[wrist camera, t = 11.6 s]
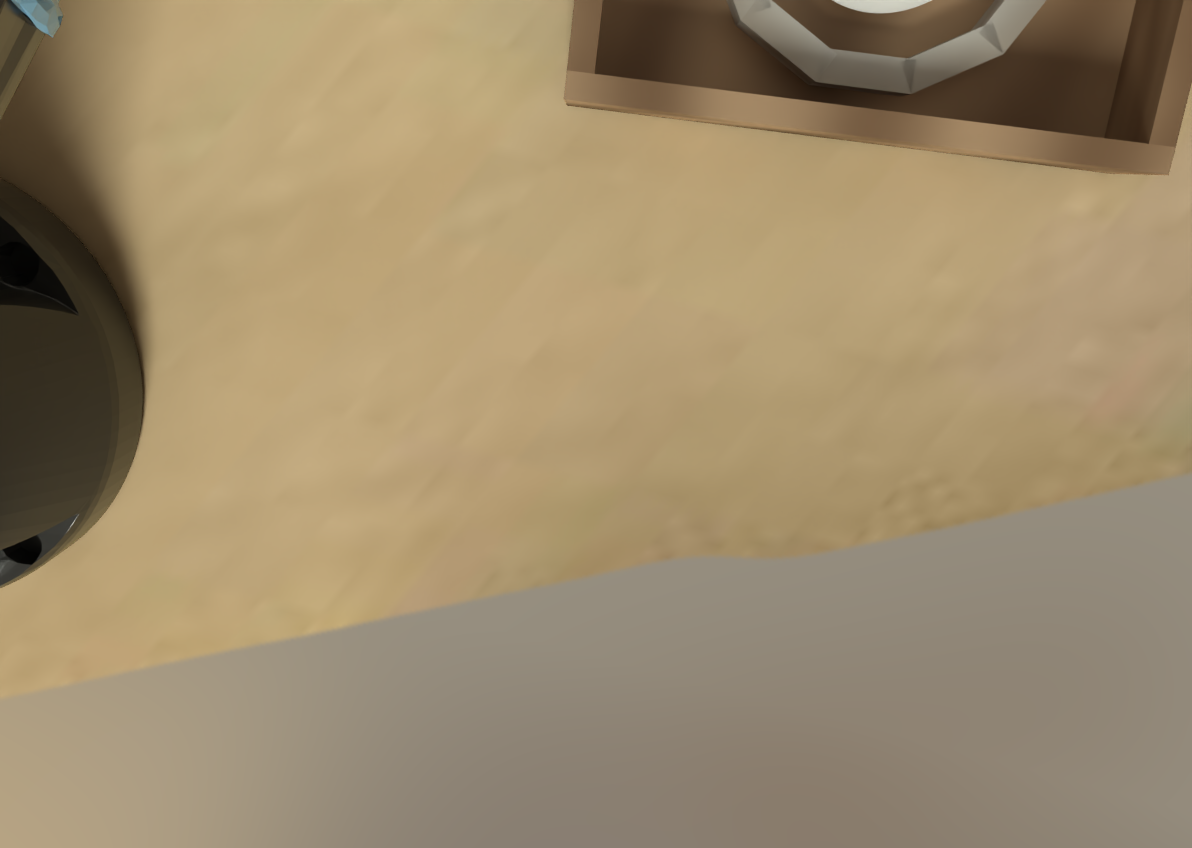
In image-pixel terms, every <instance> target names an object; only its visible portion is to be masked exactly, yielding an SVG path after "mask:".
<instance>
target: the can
mask: <svg viewBox="0 0 1192 848" xmlns="http://www.w3.org/2000/svg"><path fill="white" fill-rule="evenodd" d="M832 1H834V2H836V3H838V4H840V5H842V6H845V7H847V8H850V9H853V10H857V11H861V12H867V13H893V12H899V11H904V10H908V9H912V8H915V7H917V6H920V5H923V4H925V3H927V2H930V1H932V0H832Z"/></svg>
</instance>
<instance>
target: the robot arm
mask: <svg viewBox="0 0 1192 848" xmlns="http://www.w3.org/2000/svg"><path fill="white" fill-rule="evenodd" d="M59 1H60V0H0V120H1V118H2V116H3V114H4V112H5V110H6V108H7V107H8V105H9V103H10V101H11V99H12V97H13V95H14V93H15V91H16V89H17V87H18V85H19V83H20V81H21V79H22V78H23V76H24V74H25V72H26V70H27V68H28V66H29V64H30V62H31V60H32V58H33V56H34V54H35V52H36V50H37V49H38V47H39V45H40V43H41V41H42V39H43V37H44V35H45V33H46V34H48V35H49V36H51V37H53V36H54V34H55V33H56V31H57V30H58V28H59V27H60V24H61V21H62V18H63V14H62V12H61V10H60V7H59V4H58V3H59ZM142 406H143V393H142V378H141V369H140V363H139V358H138V352H137V349H136V345H135V341H134V337H133V334H132V331H131V328H130V325H129V322H128V319H127V317H126V314H125V312H124V310H123V307H122V305H121V303H120V301H119V299H118V297H117V295H116V293H115V291H114V289H113V287H112V286H111V284H110V282H109V280H108V279H107V277H106V275H105V274H104V272H103V271H102V269H101V268H100V266H99V265H98V263H97V262H96V260H95V259H94V258H93V256H92V255H91V254H90V253H89V251H88V250H87V249H86V248H85V246H84V245H83V244H82V243H81V242H80V241H79V239H78V238H77V237H76V236H75V235H74V234H73V233H72V232H71V231H70V230H69V229H68V228H67V227H66V226H65V225H64V224H63V223H62V222H61V221H60V220H59V219H58V218H57V217H56V216H54V215H53V214H52V213H51V212H50V211H49V210H47V209H46V208H45V207H44V206H42V205H41V204H40V203H38V202H37V201H36V200H34V199H33V198H32V197H30V196H29V195H27V194H26V193H24V192H23V191H21V190H20V189H18V188H17V187H15V186H13V185H12V184H10V183H8V182H6V181H4V180H3V179H1V178H0V588H2V587H4V586H7V585H9V584H11V583H13V582H15V581H17V580H19V579H21V578H23V577H25V576H27V575H28V574H30V573H32V572H34V571H35V570H37V569H38V568H40V567H41V566H43V565H44V564H45V563H47V562H48V561H50V560H51V559H52V558H54V557H55V556H57V555H58V554H59V553H61V552H62V551H64V550H65V549H66V548H68V547H69V546H71V545H72V544H73V543H74V542H76V541H77V540H78V539H79V538H81V537H82V536H83V535H84V534H85V533H86V532H87V531H88V530H89V529H90V528H91V527H92V526H93V525H95V523H96V522H97V521H98V520H99V519H100V518H101V516H102V515H103V514H104V513H105V512H106V510H107V509H108V507H109V506H110V505H111V503H112V502H113V500H114V499H115V497H116V495H117V494H118V492H119V490H120V489H121V487H122V485H123V483H124V481H125V479H126V477H127V474H128V472H129V469H130V467H131V464H132V462H133V458H134V455H135V452H136V448H137V444H138V439H139V435H140V428H141V421H142Z"/></svg>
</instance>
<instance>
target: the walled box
mask: <svg viewBox="0 0 1192 848" xmlns="http://www.w3.org/2000/svg"><path fill="white" fill-rule="evenodd" d="M1191 83H1192V0H932V1H930V2H927V3H925V4H923V5H920V6H917V7H915V8H912V9H908V10H904V11H899V12H893V13H867V12H861V11H857V10H853V9H850V8H847V7H845V6H842V5H840V4H838V3H836V2H834V1H832V0H575V1H574V10H573V19H572V29H571V38H570V47H569V57H568V66H567V75H566V84H565V94H564V100H565V102H566V104H567V105H568V106H576V107H584V108H592V109H600V110H608V111H616V112H624V113H632V114H640V115H648V116H656V117H664V118H672V119H680V120H688V121H696V122H704V123H712V124H720V125H728V126H736V127H744V128H752V129H760V130H768V131H776V132H784V133H792V134H800V135H808V136H816V137H824V138H832V139H840V140H848V141H856V142H864V143H872V144H880V145H888V146H895V147H903V148H911V149H919V150H927V151H935V152H943V153H951V154H959V155H967V156H975V157H983V158H991V159H999V160H1007V161H1015V162H1023V163H1031V164H1039V165H1047V166H1055V167H1063V168H1071V169H1079V170H1087V171H1095V172H1103V173H1111V174H1148V175H1169V172H1170V168H1171V164H1172V160H1173V156H1174V152H1175V148H1176V143H1177V139H1178V135H1179V131H1180V127H1181V123H1182V119H1183V115H1184V111H1185V107H1186V103H1187V99H1188V95H1189V91H1190V87H1191Z"/></svg>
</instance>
